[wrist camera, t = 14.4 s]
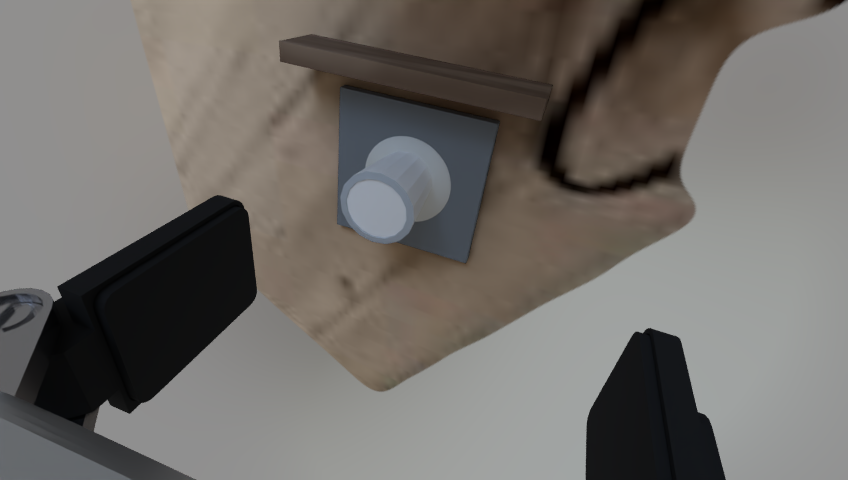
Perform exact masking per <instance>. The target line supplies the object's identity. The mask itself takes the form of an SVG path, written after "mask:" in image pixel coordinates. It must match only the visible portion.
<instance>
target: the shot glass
mask: <svg viewBox="0 0 848 480" xmlns="http://www.w3.org/2000/svg"><path fill="white" fill-rule="evenodd" d="M431 187H432V176H431V174H430V171H429V169H428V167H427V165H426V164H425V163H424V162H423V161H422V160H421V159H420V158H419V157H418V156H416V155H414V154H412V153H410V152H403V151H397V152H394V153H391V154H388V155H387V156H385V157H383V158H382V159H380V160H378V161H377V162H375V163H373V164H371V165H370V166H368V167H366V168H365V169H363V170H361V171H360V172H358V173H356V174H355V175H353V176H352V177H351V178H350V179H349V180H348V181H347V182H346V183H345V184H344V186H343V190H342V193H341V196H340V199H341V207H342V212H343V214H344V216H345V218H346V220H347V222H348V224H349V225H350V226H351V227H352V228H353V229H354V230H355V231H356V232H357V233H358V234H359V235H361V236H363V237H364V238H366V239H368V240H370V241H372V242H377V243H383V244H389V243H393V242H397V241H400V240H401V239H402V238H404V237H405V236H406V235H407V234H409V232H410V230H411V228H412V226H413V224H414V222H415V220H416V218H417V216H418V214H419V212H420V210H421V208H422V206H423V204H424V202H425V200H426V198H427V196H428V194H429V192H430V190H431Z"/></svg>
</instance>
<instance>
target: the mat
mask: <svg viewBox="0 0 848 480" xmlns="http://www.w3.org/2000/svg"><path fill="white" fill-rule="evenodd" d="M499 123H500V121H498V120H493V119H489V118H485V117H481V116H476V115H472V114H468V113H463V112H459V111H455V110H450V109H446V108H442V107H438V106H433V105H429V104H425V103H420V102H416V101H412V100H407V99H403V98H399V97H395V96H390V95H386V94H382V93H377V92H373V91H369V90H364V89H360V88H356V87H351V86H347V85H344V86H342V87H340V118H339V166H338V214H337V224H339V225H342V226H345V227H349V228H352V227H351V226H350V225H349V224H348V222H347V220H346V218H345V216H344V214H343V212H342V207H341V199H340V196H341V193H342V190H343V186H344V184H345V183H346V182H347V181H348V180H349V179H350V178H351V177H352V176H353V175H355V174H356V173H358V172H360V171H361V170H363V169H365V168H366V167H368V166H370V165H371V164H373V163H375V162H377V161H378V160H380V159H382V158H383V157H385V156H387V155H388V154H391V153H394V152H397V151H403V152H410V153H412V154H414V155H416V156H418V157H419V158H420V159H421V160H422V161H423V162H424V163H425V164H426V165H427V167H428V169H429V171H430V174H431V176H432V187H431V190H430V192H429V194H428V196H427V198H426V200H425V202H424V204H423V206H422V208H421V210H420V212H419V214H418V216H417V218H416V220H415V222H414V224H413V226H412V228H411V230H410V232H409V234H407V235H406V236H405V237H404V238H402V239H401V240H400V241H397V242H398V243H401V244H404V245H408V246H411V247H414V248H417V249H421V250H424V251H427V252H430V253H434V254H437V255H440V256H444V257H447V258H450V259H453V260H457V261H460V262H463V263H466V262H467V260H468V257H469V253H470V248H471V244H472V240H473V235H474V231H475V227H476V222H477V218H478V214H479V210H480V205H481V201H482V197H483V192H484V188H485V184H486V179H487V175H488V171H489V166H490V162H491V158H492V154H493V149H494V145H495V141H496V136H497V132H498V128H499ZM352 229H353V228H352Z"/></svg>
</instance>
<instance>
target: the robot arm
mask: <svg viewBox="0 0 848 480" xmlns="http://www.w3.org/2000/svg"><path fill="white" fill-rule="evenodd" d="M58 290H59V292H60V294H61V296H62V298H60V299H58V300H57V301H55V302H54V301H53V299H52V297H51V296H50V294H48V293H47V292H45V291H43V290H39V289H32V288H26V289H14V290H9V291H3V292H0V480H196V479H193V478H191V477H189V476H187V475H185V474H183V473H181V472H179V471H176V470H174V469H172V468H170V467H168V466H166V465H164V464H161V463H159V462H157V461H155V460H153V459H151V458H149V457H146V456H144V455H142V454H140V453H138V452H136V451H134V450H131V449H129V448H127V447H125V446H123V445H121V444H118V443H116V442H114V441H112V440H110V439H108V438H105V437H103V436H101V435H99V434H97V433H95V432H94V428H95V423H96V419H97V415H98V411H99V406H100V405H102V404H103V403H104V402H105V401H106V400H107V399H108V401H109V403H110V405H111V406H113V407H116V408H118V409H120V410H122V411H125V412H127V413H129V414H130V413H131V412H132V411H133V410H134V409H135V408H136V407H137V406H138V405H140V404H141V403H144V402H147V401H149V400H151V399H152V398H153V397H154V396H155V395H156V394H157V393H158V392H159V391H160V390H161V389H162V388H164V387H165V386H166V385H167V384H168V383H169V382H170V381H171V380H172V379H173V378H174V377H175V376H176V375H177V374H178V373H179V372H180V371H181V370H183V368H185V367H186V366H187V365H188V364H189V363H190V362H191V361H192V360H193V359H194V358H195V357H196V356H197V355H198V354H199V353H200V352H201V351H202V350H203V349H205V348H206V347H207V346H208V345H209V344H210V343H211V342H212V341H213V340H214V339H215V338H216V337H217V336H218V335H219V334H220V333H221V332H222V331H224V330H225V329H226V328H227V327H228V326H229V325H230V324H231V323H232V322H233V321H234V320H235V319H236V318H237V317H238V316H239V315H240V314H241V313H242V312H243V311H244V310H246V309H247V308H248V307H249V306H250V305H251V304H252V302H253V301H254V299H255V297H256V294H257V286H256V278H255V269H254V260H253V251H252V242H251V233H250V225H249V216H248V212H247V210H245V209H244V206H243V204H242V203H241V202H239V201H237V200H234V199H230V198H227V197H224V196H220V195H217V196H214V197H212V198H210V199H208V200H207V201H205V202H203V203H202V204H200V205H198V206H196V207H195V208H193V209H191V210H189V211H188V212H186V213H184V214H182V215H181V216H179V217H177V218H176V219H174V220H172V221H170V222H169V223H167V224H165V225H163V226H162V227H160V228H158V229H156V230H155V231H153V232H151V233H150V234H148V235H146V236H144V237H143V238H141V239H139V240H137V241H136V242H134V243H132V244H130V245H129V246H127V247H125V248H123V249H122V250H120V251H118V252H117V253H115V254H113V255H111V256H110V257H108V258H106V259H105V260H103V261H101V262H99V263H98V264H96V265H94V266H92V267H91V268H89V269H87V270H86V271H84V272H82V273H81V274H78V275H77V276H75V277H73V278H71V279H70V280H68V281H66V282H65V283H63V284H61V285H59V286H58ZM586 437H587V439H586V480H726V479H725V475H724V471H723V467H722V464H721V460H720V456H719V452H718V448H717V444H716V440H715V436H714V433H713V429H712V426H711V423H710V421H709V419H708V418H707V417H706V415H704V414H701V413H698V412H697V408H696V403H695V399H694V395H693V391H692V386H691V382H690V378H689V373H688V369H687V365H686V361H685V356H684V352H683V348H682V343H681V341H680V339H679V338H678V337H677V336H673V335H670V334H667V333H663V332H660V331H657V330H654V329H651V328H648V329H646V330H645V332H644V333H640V332H635V333H634V334H633V336H632V337H631V339H630V341H629V342H628V344H627V346H626V348H625V349H624V351H623V353H622V355H621V356H620V358H619V360H618V362H617V363H616V365H615V367H614V369H613V371H612V372H611V374H610V376H609V378H608V379H607V381H606V383H605V385H604V386H603V388H602V390H601V392H600V393H599V395H598V397H597V399H596V401H595V402H594V404H593V406H592V408H591V410H590V412H589V415H588V420H587V436H586Z"/></svg>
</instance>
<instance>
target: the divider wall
mask: <svg viewBox="0 0 848 480" xmlns="http://www.w3.org/2000/svg"><path fill="white" fill-rule="evenodd" d="M279 47H280V62H284V63H289V64H293V65H297V66H302V67H306V68H311V69H315V70H319V71H324V72H328V73H333V74H337V75H341V76H346V77H350V78H354V79H359V80H363V81H368V82H372V83H376V84H381V85H385V86H390V87H394V88H398V89H403V90H407V91H411V92H416V93H420V94H425V95H429V96H433V97H438V98H442V99H447V100H451V101H455V102H460V103H464V104H468V105H473V106H477V107H482V108H486V109H490V110H495V111H499V112H504V113H508V114H512V115H517V116H521V117H525V118H530V119H534V120H539V121H541V120H542V117H543V114H544V112H545V109H546V106H547V103H548V100H549V97H550V93H551V90H552V86H553V85H550V84H546V83H541V82H536V81H531V80H527V79H522V78H517V77H512V76H508V75H503V74H498V73H493V72H489V71H484V70H479V69H474V68H470V67H465V66H460V65H455V64H450V63H446V62H441V61H436V60H431V59H427V58H422V57H417V56H412V55H408V54H403V53H398V52H393V51H389V50H384V49H379V48H374V47H370V46H365V45H360V44H355V43H350V42H346V41H341V40H336V39H331V38H327V37H322V36H317V35H312V34H311V35H306V36H301V37H296V38H291V39H286V40H282V41H279Z"/></svg>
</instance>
